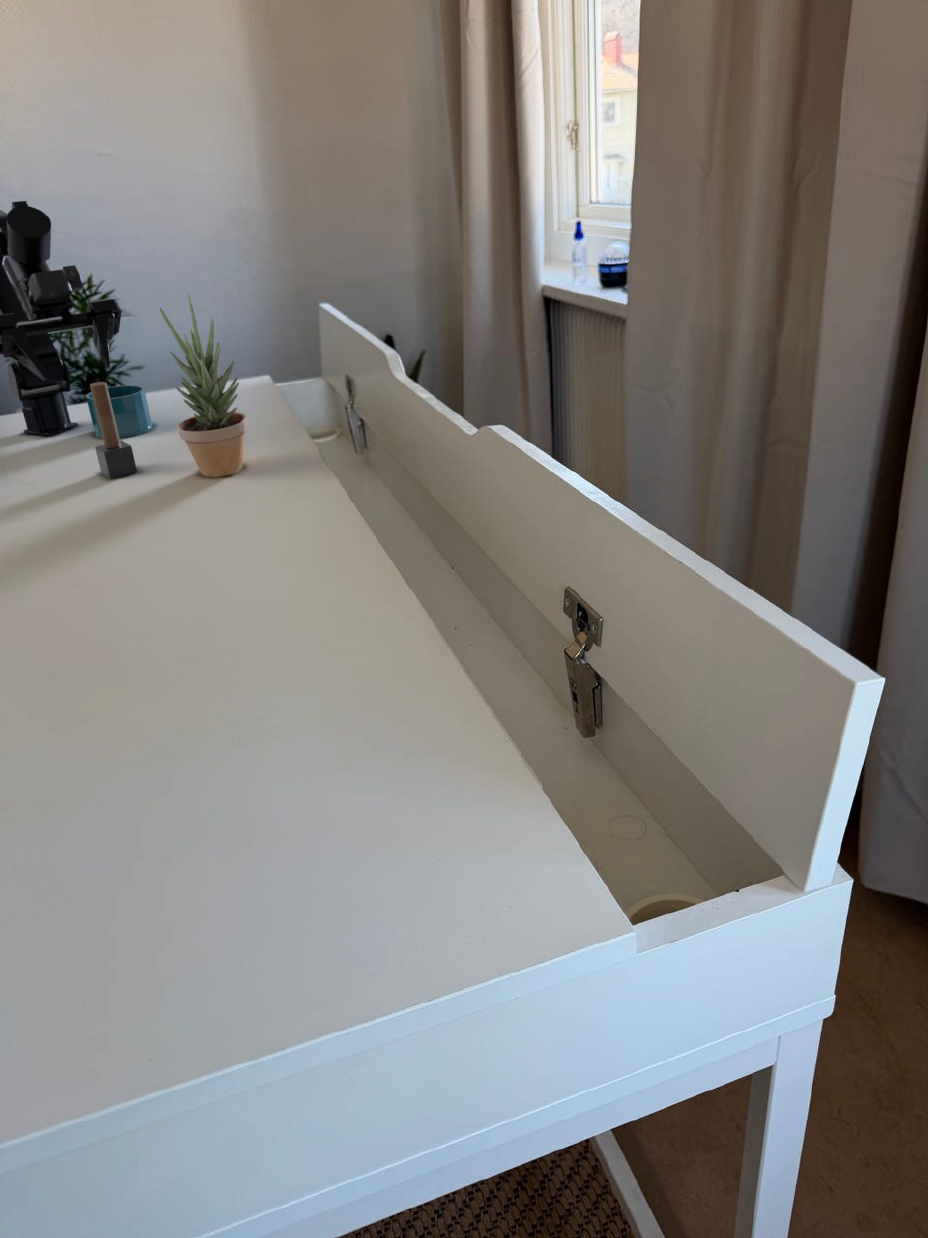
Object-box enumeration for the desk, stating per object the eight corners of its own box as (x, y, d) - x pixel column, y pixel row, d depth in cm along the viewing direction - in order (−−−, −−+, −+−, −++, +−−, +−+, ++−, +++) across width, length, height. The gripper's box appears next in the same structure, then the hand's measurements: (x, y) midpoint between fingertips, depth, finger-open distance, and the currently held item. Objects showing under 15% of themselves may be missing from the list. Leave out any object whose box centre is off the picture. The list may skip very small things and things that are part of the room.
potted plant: (173, 478, 134) (135, 297, 122) (213, 458, 141) (180, 285, 130) (232, 483, 130) (198, 297, 119) (269, 462, 138) (241, 285, 127)
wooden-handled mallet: (101, 472, 138) (79, 384, 132) (127, 466, 140) (107, 378, 134) (110, 479, 135) (88, 388, 130) (137, 472, 138) (117, 382, 132)
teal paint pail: (123, 421, 164) (114, 383, 161) (163, 424, 161) (155, 386, 158) (83, 436, 157) (74, 397, 154) (125, 440, 153) (116, 400, 150)
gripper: (-34, 256, 129) (10, 349, 126) (102, 240, 138) (145, 327, 136) (-30, 309, 138) (11, 397, 135) (97, 291, 148) (137, 373, 145)
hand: (77, 372), depth 137 cm, fingers open, 9 cm apart
